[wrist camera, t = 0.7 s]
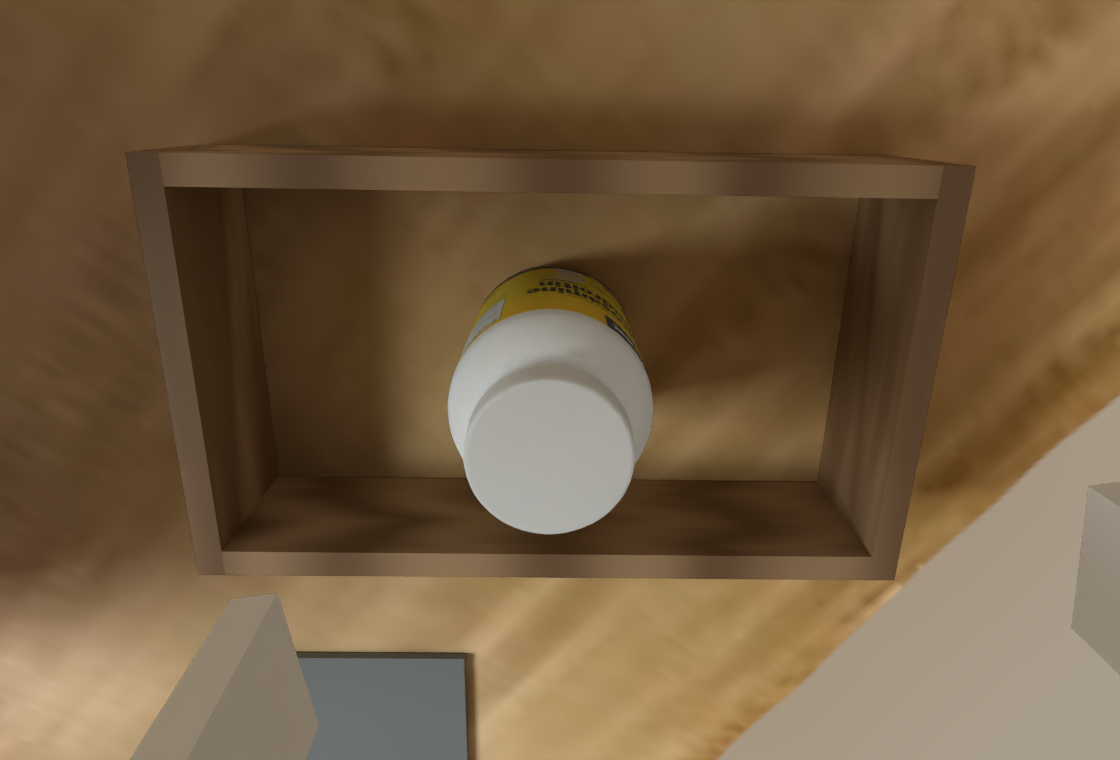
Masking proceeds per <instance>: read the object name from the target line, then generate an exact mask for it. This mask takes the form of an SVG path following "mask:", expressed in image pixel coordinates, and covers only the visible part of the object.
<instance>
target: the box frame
mask: <svg viewBox="0 0 1120 760" xmlns="http://www.w3.org/2000/svg"><path fill="white" fill-rule="evenodd" d="M125 154H126V160H127V166H128V172H129V177H130V183H131V189H132V195H133V201H134V206H135V212H136V218H137V224H138V230H139V235H140V241H141V247H142V253H143V259H144V265H145V270H146V276H147V282H148V288H149V294H150V299H151V305H152V311H153V317H154V323H155V328H156V334H157V340H158V346H159V352H160V358H161V363H162V369H163V375H164V381H165V387H166V392H167V398H168V404H169V410H170V416H171V421H172V427H173V433H174V439H175V445H176V450H177V456H178V462H179V468H180V474H181V480H182V485H183V491H184V497H185V503H186V509H187V514H188V520H189V526H190V532H191V538H192V543H193V549H194V555H195V561H196V567H197V573H198V575H292V576H420V577H548V578H675V579H803V580H894V578H895V573H896V568H897V563H898V558H899V553H900V548H901V543H902V538H903V533H904V528H905V523H906V518H907V513H908V507H909V502H910V497H911V492H912V487H913V482H914V477H915V472H916V467H917V462H918V457H919V452H920V447H921V442H922V437H923V432H924V426H925V421H926V416H927V411H928V406H929V401H930V396H931V391H932V386H933V381H934V376H935V371H936V366H937V361H938V356H939V350H940V345H941V340H942V335H943V330H944V325H945V320H946V315H947V310H948V305H949V300H950V295H951V290H952V285H953V280H954V275H955V269H956V264H957V259H958V254H959V249H960V244H961V239H962V234H963V229H964V224H965V219H966V214H967V209H968V204H969V199H970V194H971V188H972V183H973V178H974V173H975V168H976V166H969V165H960V164H952V163H944V162H936V161H928V160H920V159H912V158H904V157H896V156H860V155H802V154H744V153H686V152H628V151H569V150H511V149H453V148H395V147H337V146H279V145H220V144H209V145H197V146H186V147H175V148H164V149H153V150H141V151H130V152H125ZM243 188H289V189H350V190H412V191H473V192H535V193H596V194H658V195H719V196H781V197H842V198H860V200H859V207H858V213H857V220H856V227H855V234H854V240H853V247H852V254H851V260H850V267H849V274H848V281H847V287H846V294H845V301H844V307H843V314H842V321H841V328H840V334H839V341H838V348H837V354H836V361H835V368H834V375H833V381H832V388H831V395H830V401H829V408H828V415H827V422H826V428H825V435H824V442H823V448H822V455H821V462H820V469H819V475H818V482H777V481H676V480H631V481H630V484H629V486H628V488H627V490H626V492H625V494H624V495H623V497H622V498H621V500H620V501H619V502H618V503H617V504H616V506H615V507H614V508H613V509H612V510H611V511H610V512H609V513H607V514H606V515H605V516H604V517H602V518H601V519H599V520H598V521H596V522H594V523H593V524H590V525H588V526H585V527H583V528H581V529H578V530H575V531H571V532H567V533H560V534H537V533H532V532H527V531H523V530H520V529H518V528H514V527H512V526H510V525H508V524H506V523H504V522H502V521H501V520H499V519H498V518H496V517H495V516H494V515H493V514H491V513H490V512H489V511H488V510H487V509H486V508H485V507H484V506H483V505H482V504H481V503H480V501H479V500H478V499H477V497H476V496H475V494H474V493H473V491H472V489H471V487H470V484H469V482H468V479H467V478H376V477H278V472H277V464H276V456H275V448H274V440H273V432H272V424H271V416H270V408H269V399H268V391H267V383H266V375H265V367H264V359H263V351H262V343H261V334H260V326H259V318H258V310H257V302H256V294H255V286H254V278H253V270H252V261H251V253H250V245H249V237H248V229H247V221H246V213H245V205H244V196H243Z"/></svg>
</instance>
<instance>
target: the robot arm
mask: <svg viewBox="0 0 1120 760" xmlns="http://www.w3.org/2000/svg"><path fill="white" fill-rule="evenodd" d="M1071 627H1072V629H1073V630H1074V631H1075V632H1076V633H1077V634H1078V635H1079V636H1080V637H1081V638H1082V639H1083V640H1085V642H1087V643H1088V644H1089V645H1090V646H1091V647H1092V648H1093V649H1094V650H1095V651H1096V652H1097V653H1098V654H1099V655H1100V656H1101V657H1102V658H1103V659H1104V660H1105V661H1106V662H1107V663H1108V664H1109V665H1110V666H1111V667H1112V668H1113V669H1114V670H1115V671H1116V672H1118V674H1120V482H1115V483H1108V484H1100V485H1093V486H1089V487H1088V494H1087V502H1086V511H1085V519H1084V527H1083V535H1082V544H1081V552H1080V561H1079V569H1078V577H1077V585H1076V593H1075V602H1074V611H1073V618H1072V626H1071ZM318 725H319V724H318V721H317V717H316V714H315V711H314V708H313V705H312V702H311V698H310V695H309V692H308V689H307V686H306V682H305V679H304V676H303V673H302V670H301V667H300V663H299V660H298V657H297V654H296V651H295V648H294V644H293V641H292V638H291V635H290V632H289V629H288V625H287V622H286V619H285V616H284V613H283V610H282V606H281V603H280V600H279V597H278V594H277V593H274V594H266V595H259V596H251V597H244V598H236V599H231V600H230V602H229V603H228V605H227V606H226V608H225V610H224V611H223V613H222V614H221V616H220V617H219V619H218V621H217V622H216V624H215V625H214V627H213V629H212V630H211V632H210V633H209V635H208V636H207V638H206V640H205V641H204V643H203V644H202V646H201V648H200V649H199V651H198V652H197V654H196V655H195V657H194V659H193V660H192V662H191V663H190V665H189V667H188V668H187V670H186V671H185V673H184V674H183V676H182V678H181V679H180V681H179V682H178V684H177V686H176V687H175V689H174V690H173V692H172V693H171V695H170V697H169V698H168V700H167V701H166V703H165V705H164V706H163V708H162V709H161V711H160V712H159V714H158V716H157V717H156V719H155V720H154V722H153V724H152V725H151V727H150V728H149V730H148V731H147V733H146V735H145V736H144V738H143V739H142V741H141V743H140V744H139V746H138V747H137V749H136V751H135V752H134V754H133V755H132V757H131V758H130V760H306V758H307V756H308V753H309V750H310V747H311V744H312V742H313V739H314V736H315V733H316V730H317V728H318Z"/></svg>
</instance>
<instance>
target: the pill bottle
mask: <svg viewBox="0 0 1120 760" xmlns="http://www.w3.org/2000/svg"><path fill="white" fill-rule="evenodd" d="M448 418H449V425H450V430H451V434H452V437H453V440H454V442H455V445H456V447H457V449H458V451H459V453H460V455H461V457H462V458H463V460H464V468H465V472H466V476H467V479H468V482H469V484H470V487H471V489H472V491H473V493H474V494H475V496H476V497H477V499H478V500H479V501H480V503H481V504H482V505H483V506H484V507H485V508H486V509H487V510H488V511H489V512H490V513H491V514H493V515H494V516H495V517H496V518H498V519H499V520H501V521H502V522H504V523H506V524H508V525H510V526H512V527H514V528H518V529H520V530H523V531H527V532H532V533H537V534H560V533H567V532H571V531H575V530H578V529H581V528H583V527H585V526H588V525H590V524H593V523H594V522H596V521H598V520H599V519H601V518H602V517H604V516H605V515H606V514H607V513H609V512H610V511H611V510H612V509H613V508H614V507H615V506H616V504H617V503H618V502H619V501H620V500H621V498H622V497H623V495H624V494H625V492H626V490H627V488H628V486H629V484H630V481H631V478H632V475H633V471H634V465H635V464H636V462H637V461H638V459H639V457H640V456H641V454H642V452H643V450H644V448H645V446H646V443H647V440H648V438H649V434H650V431H651V426H652V419H653V398H652V391H651V385H650V382H649V378H648V376H647V373H646V370H645V367H644V364H643V361H642V358H641V355H640V352H639V350H638V347H637V344H636V341H635V339H634V336H633V334H632V331H631V328H630V325H629V322H628V320H627V317H626V314H625V312H624V310H623V308H622V306H621V304H620V303H619V302H618V300H617V299H616V297H615V296H614V295H613V294H612V292H611V291H610V290H609V289H608V288H607V287H606V286H604V285H603V284H602V283H601V282H599V281H598V280H596V279H595V278H593V277H592V276H590V275H588V274H586V273H584V272H581V271H579V270H576V269H572V268H568V267H562V266H540V267H535V268H530V269H527V270H524V271H521V272H519V273H517V274H515V275H513V276H511V277H510V278H508V279H507V280H505V281H504V282H502V283H501V284H500V285H499V286H498V287H497V288H496V289H495V290H494V291H493V292H492V293H491V294H490V295H489V296H488V298H487V299H486V300H485V302H484V304H483V305H482V307H481V309H480V311H479V313H478V315H477V317H476V320H475V323H474V325H473V328H472V330H471V332H470V335H469V337H468V340H467V342H466V344H465V347H464V349H463V352H462V354H461V357H460V359H459V362H458V364H457V367H456V370H455V372H454V375H453V378H452V382H451V386H450V390H449V396H448Z"/></svg>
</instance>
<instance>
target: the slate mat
mask: <svg viewBox="0 0 1120 760" xmlns="http://www.w3.org/2000/svg"><path fill="white" fill-rule="evenodd" d="M296 654H297V657H298V660H299V663H300V667H301V670H302V673H303V676H304V679H305V682H306V686H307V689H308V692H309V695H310V698H311V702H312V705H313V708H314V711H315V714H316V717H317V721H318V724H319V725H318V728H317V730H316V733H315V736H314V739H313V742H312V744H311V747H310V750H309V753H308V756H307V758H306V760H468V737H467V705H466V674H465V653H329V652H296Z"/></svg>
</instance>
